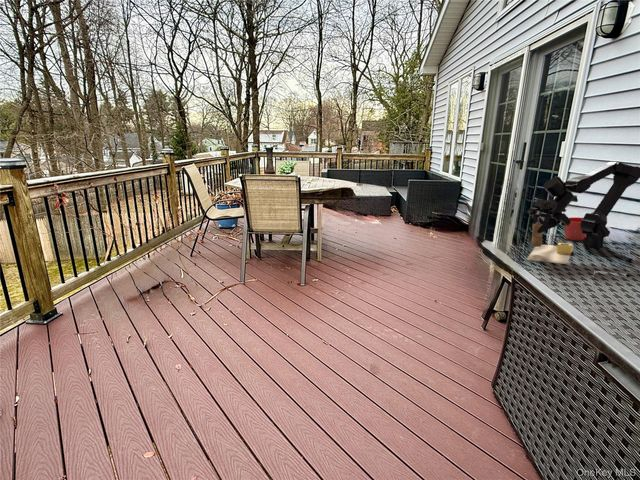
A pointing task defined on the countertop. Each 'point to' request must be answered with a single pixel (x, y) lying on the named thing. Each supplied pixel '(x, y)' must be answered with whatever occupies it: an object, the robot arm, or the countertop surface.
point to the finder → (564, 248)
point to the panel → (548, 254)
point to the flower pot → (574, 229)
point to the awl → (536, 235)
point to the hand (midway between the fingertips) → (534, 231)
